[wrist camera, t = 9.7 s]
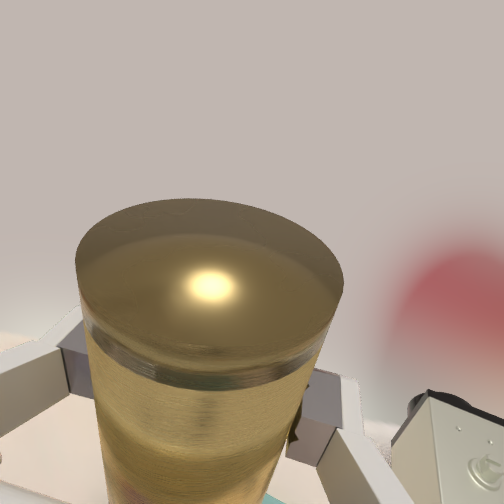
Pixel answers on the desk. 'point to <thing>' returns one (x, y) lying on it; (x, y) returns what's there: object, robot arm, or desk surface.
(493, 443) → the pneumatic valve
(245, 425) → the brass cylinder
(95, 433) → the desk surface
